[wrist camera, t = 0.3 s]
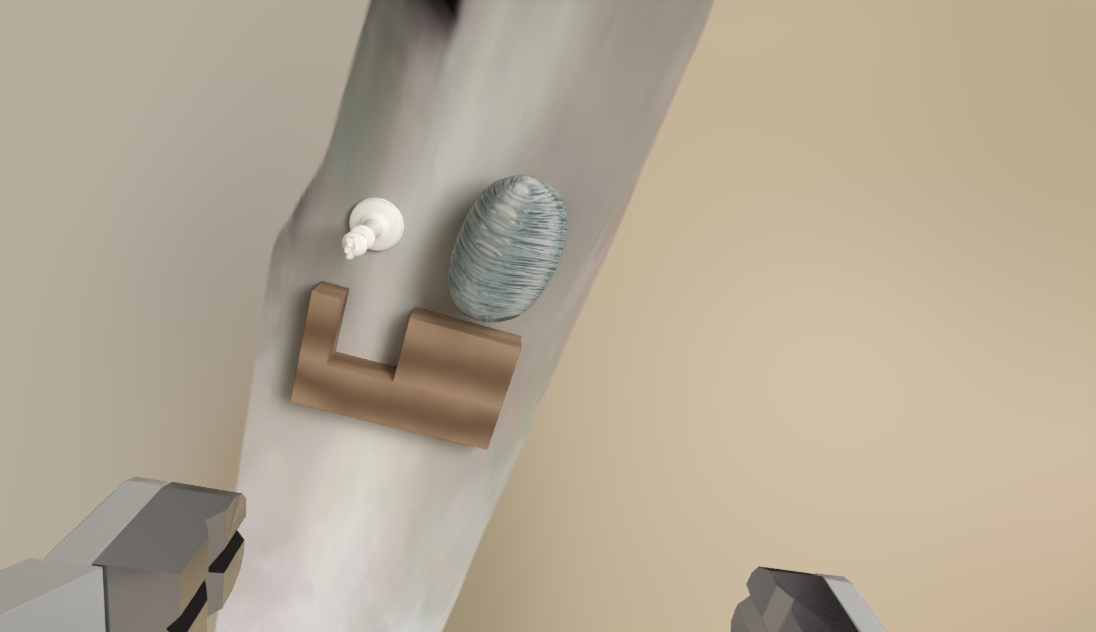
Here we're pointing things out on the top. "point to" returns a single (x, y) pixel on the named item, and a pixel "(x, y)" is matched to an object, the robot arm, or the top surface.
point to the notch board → (409, 373)
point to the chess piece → (373, 227)
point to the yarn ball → (507, 249)
